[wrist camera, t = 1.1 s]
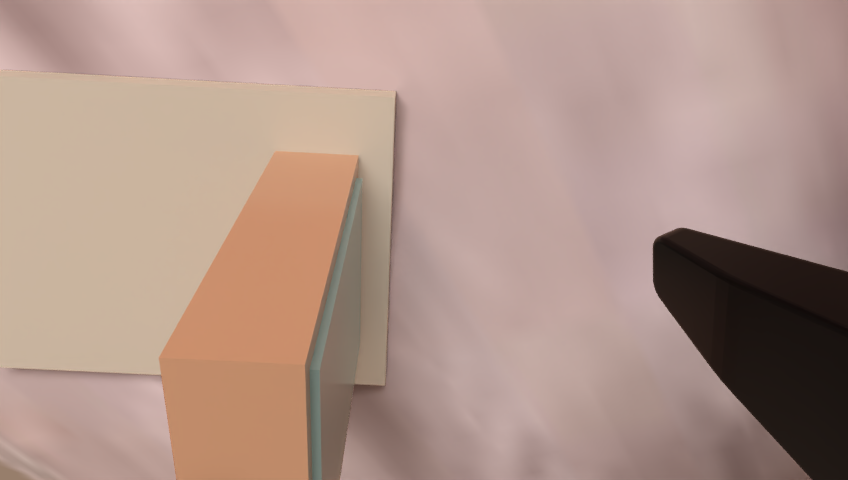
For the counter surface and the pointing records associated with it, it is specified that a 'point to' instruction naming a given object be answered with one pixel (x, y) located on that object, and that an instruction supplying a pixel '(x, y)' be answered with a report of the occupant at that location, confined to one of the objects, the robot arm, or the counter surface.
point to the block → (273, 332)
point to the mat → (159, 205)
